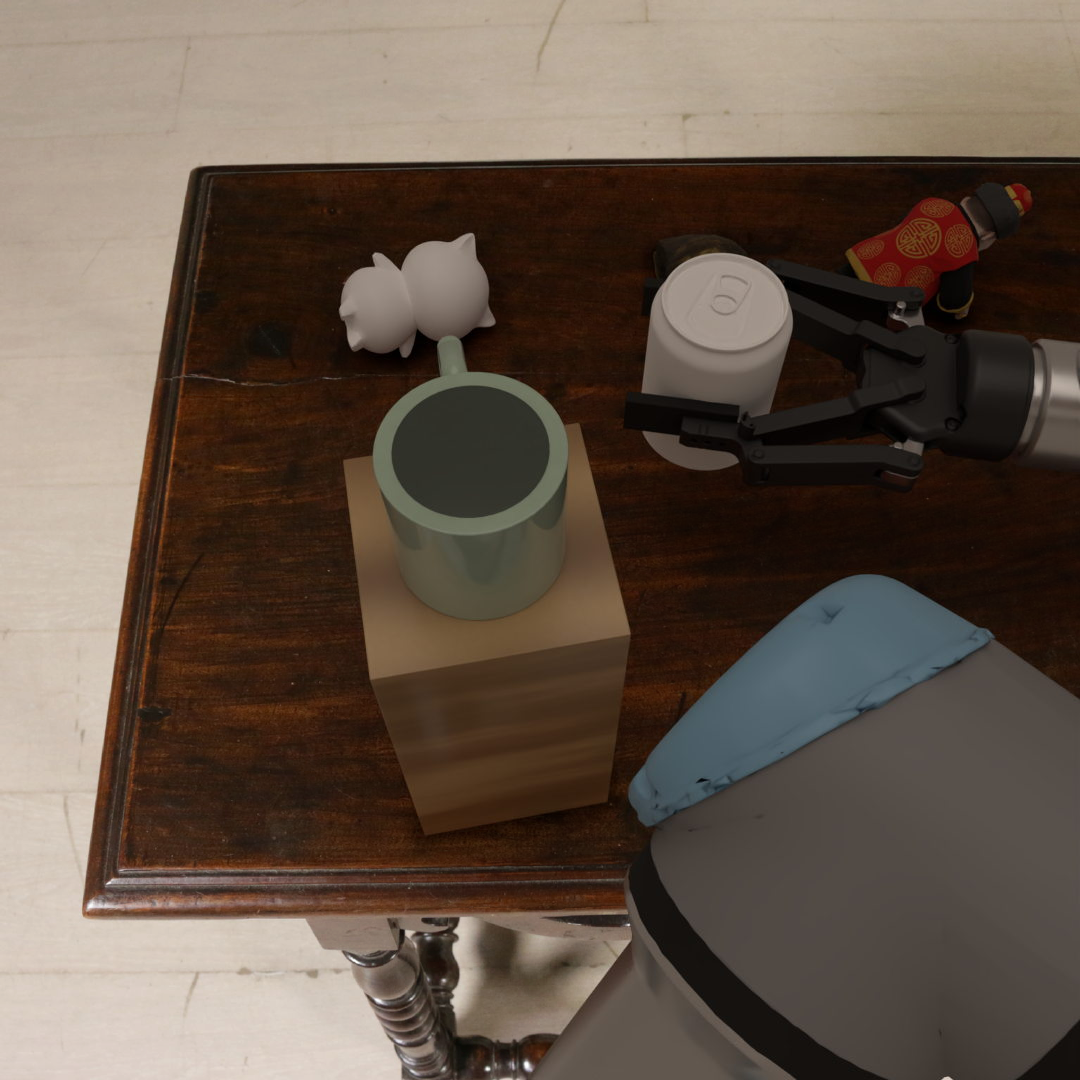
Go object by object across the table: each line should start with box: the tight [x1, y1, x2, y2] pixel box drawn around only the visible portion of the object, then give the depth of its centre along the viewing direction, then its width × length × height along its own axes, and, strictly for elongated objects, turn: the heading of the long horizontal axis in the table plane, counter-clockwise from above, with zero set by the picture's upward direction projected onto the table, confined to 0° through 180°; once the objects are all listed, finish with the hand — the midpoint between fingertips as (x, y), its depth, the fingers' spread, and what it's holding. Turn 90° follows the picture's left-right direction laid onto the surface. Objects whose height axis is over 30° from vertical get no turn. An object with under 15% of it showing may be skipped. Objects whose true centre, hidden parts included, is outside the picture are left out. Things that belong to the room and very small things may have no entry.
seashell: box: [652, 234, 749, 280], centre depth 93 cm, size 16×9×7 cm, turn 14°
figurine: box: [835, 181, 1033, 329], centre depth 93 cm, size 10×10×15 cm
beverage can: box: [641, 253, 793, 471], centre depth 71 cm, size 8×8×12 cm
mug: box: [372, 335, 569, 620], centre depth 53 cm, size 12×8×8 cm
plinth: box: [342, 422, 632, 837], centre depth 67 cm, size 12×12×26 cm
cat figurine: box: [338, 232, 497, 359], centre depth 93 cm, size 9×11×12 cm
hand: (634, 351), depth 71 cm, fingers closed on beverage can, 8 cm apart
